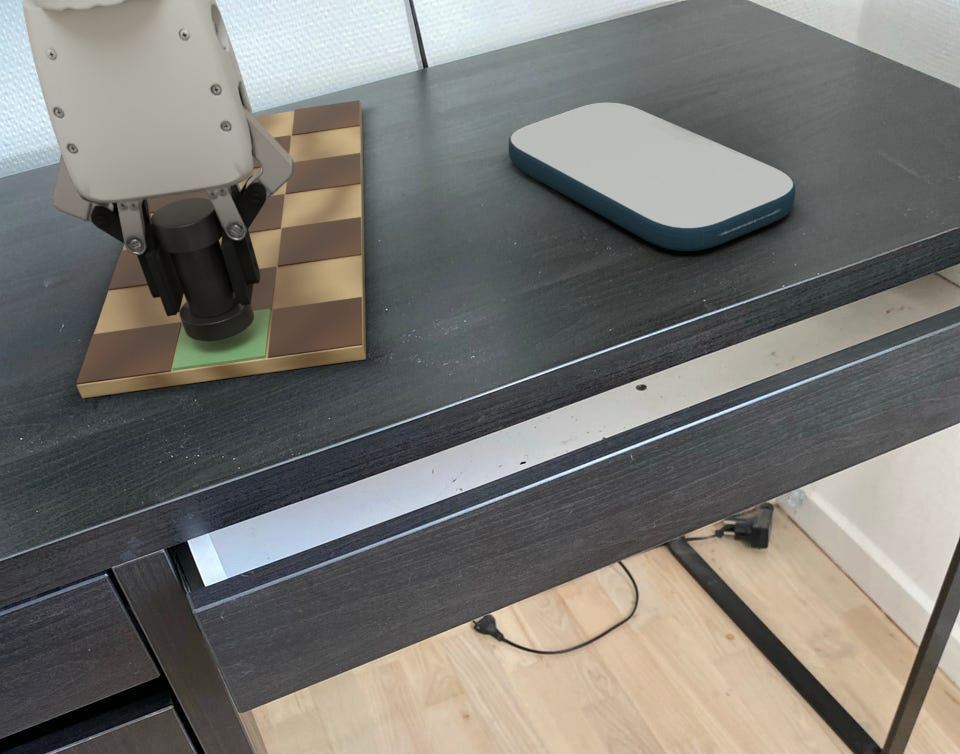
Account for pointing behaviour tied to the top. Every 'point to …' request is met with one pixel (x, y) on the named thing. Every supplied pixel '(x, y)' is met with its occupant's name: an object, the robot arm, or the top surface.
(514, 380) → the top surface
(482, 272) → the top surface
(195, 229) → the rook
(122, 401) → the top surface
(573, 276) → the top surface
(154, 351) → the chessboard
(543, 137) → the external hard drive
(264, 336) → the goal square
